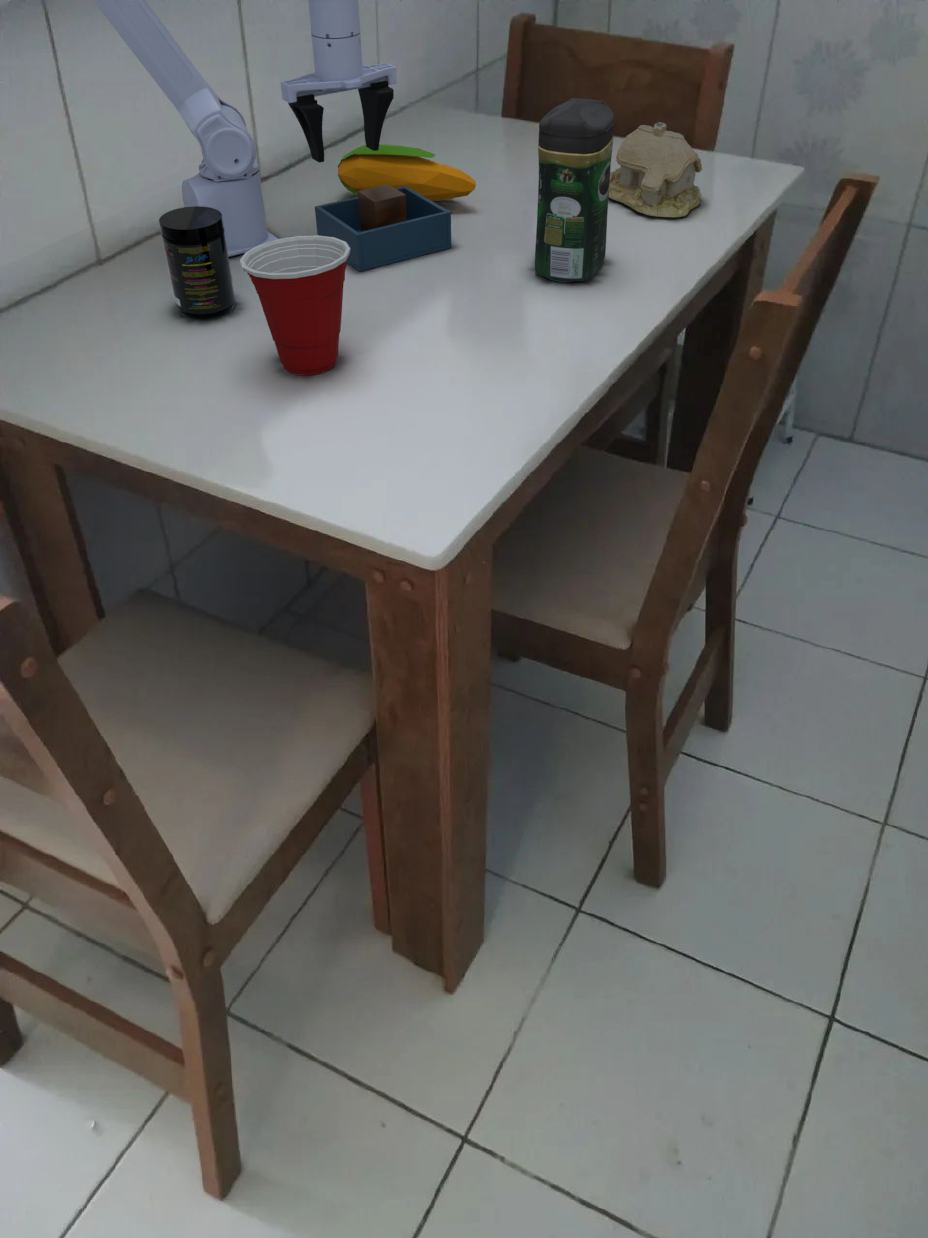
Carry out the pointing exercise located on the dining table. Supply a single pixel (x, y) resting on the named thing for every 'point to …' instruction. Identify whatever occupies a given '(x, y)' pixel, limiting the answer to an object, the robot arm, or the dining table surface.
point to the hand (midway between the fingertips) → (345, 154)
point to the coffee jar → (573, 189)
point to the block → (381, 207)
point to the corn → (402, 172)
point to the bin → (387, 231)
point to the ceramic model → (656, 173)
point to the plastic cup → (301, 297)
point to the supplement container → (198, 261)
